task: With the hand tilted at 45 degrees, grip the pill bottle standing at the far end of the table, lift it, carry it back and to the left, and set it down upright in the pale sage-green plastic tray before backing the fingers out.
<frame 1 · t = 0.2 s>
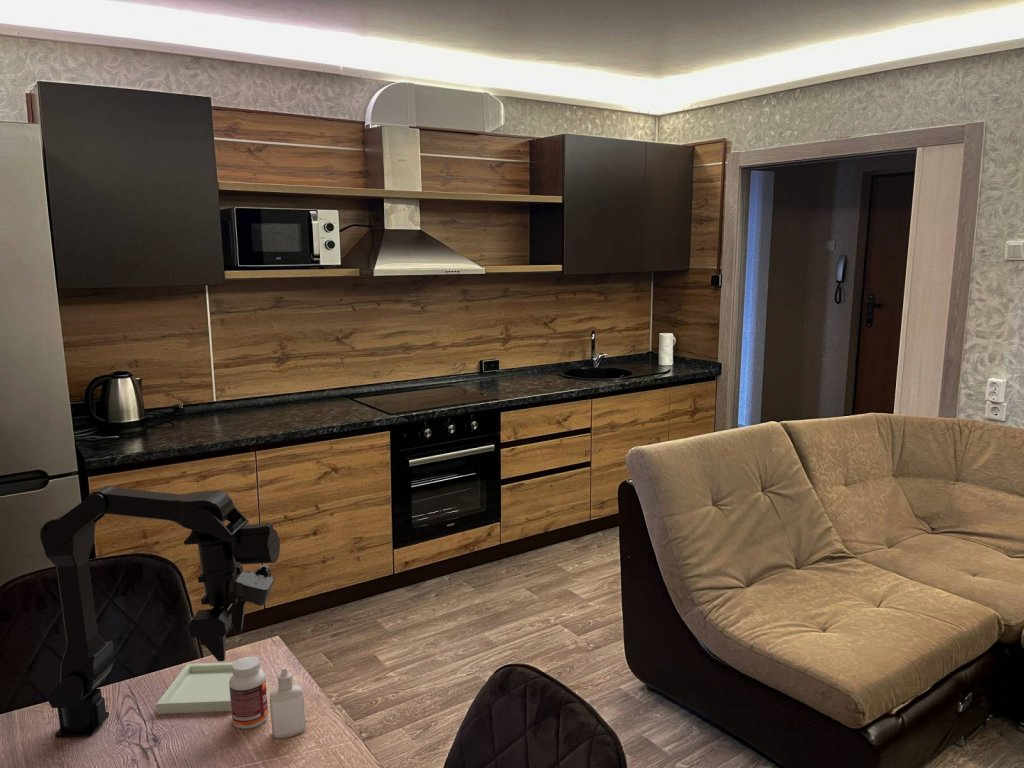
hand: (230, 646, 132), 14 cm above the table, tool pointing down, fingers open, 9 cm apart
eye dropper bottle: (289, 732, 131), on the table
pill bottle: (250, 720, 135), on the table
tray: (210, 691, 144), on the table
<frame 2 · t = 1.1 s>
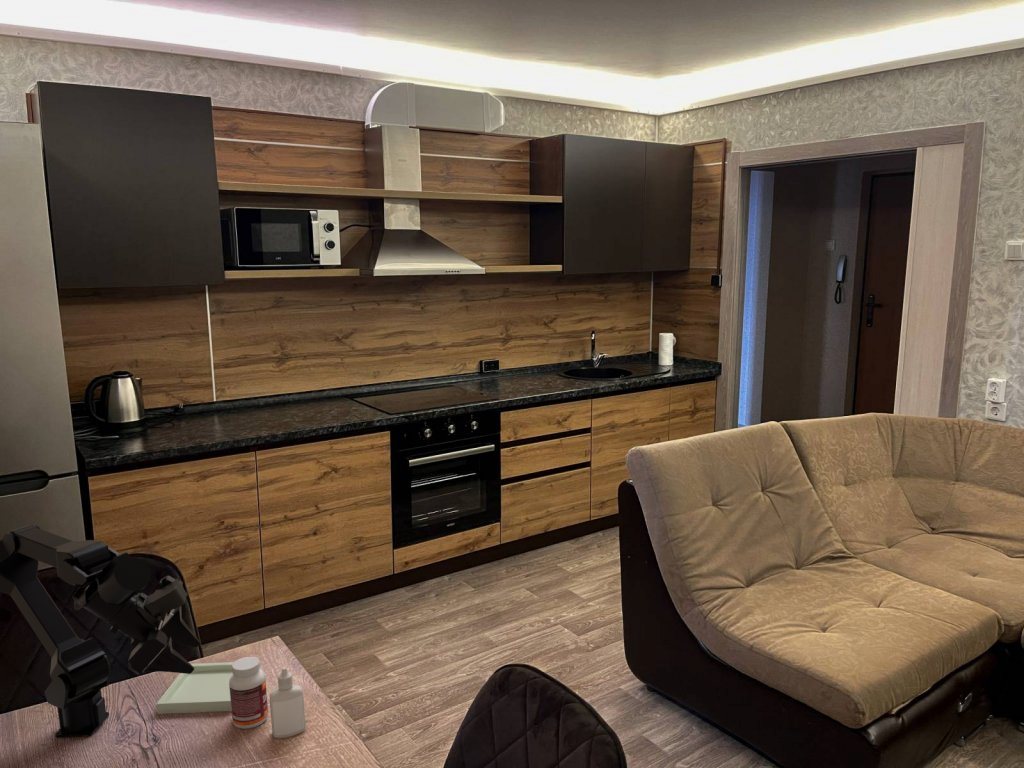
hand: (195, 657, 131), 14 cm above the table, tool tilted 45°, fingers open, 9 cm apart
nothing on the table moved.
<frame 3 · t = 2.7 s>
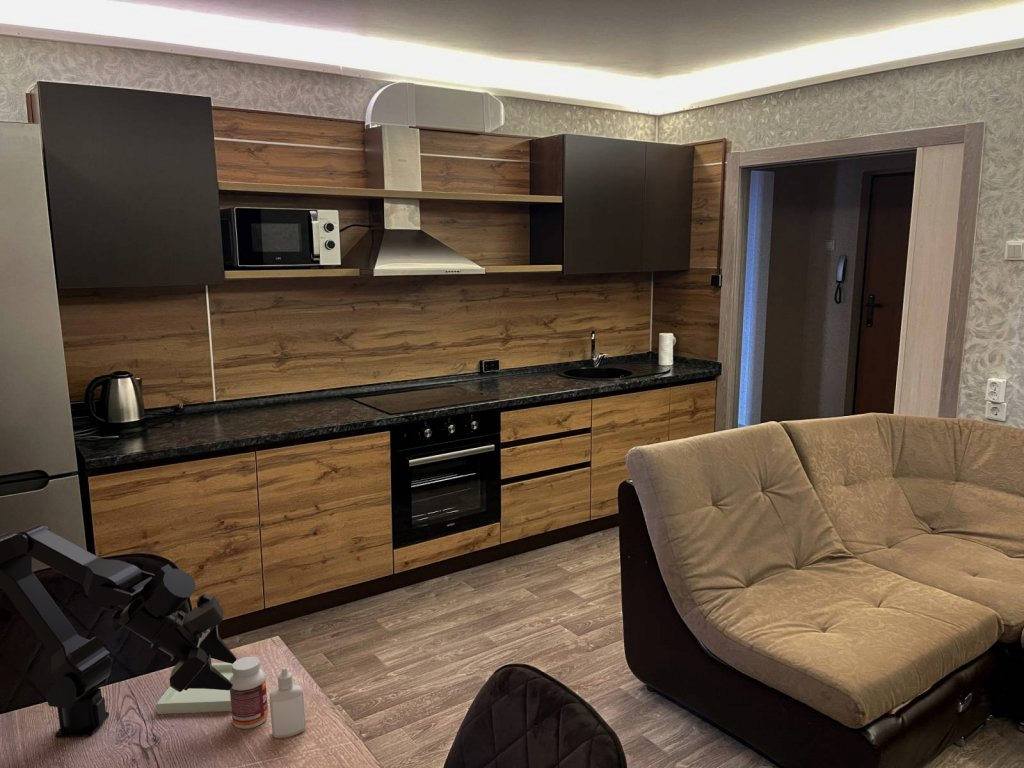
hand: (233, 674, 133), 9 cm above the table, tool tilted 45°, fingers open, 9 cm apart
nothing on the table moved.
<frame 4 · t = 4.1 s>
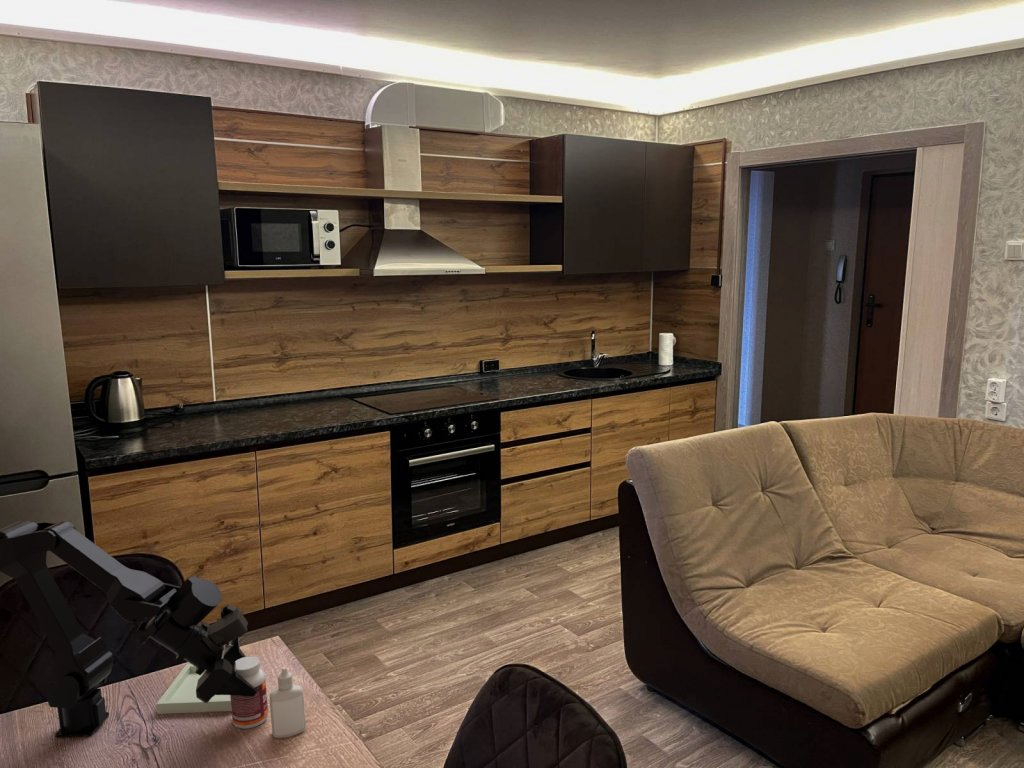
hand: (256, 684, 134), 7 cm above the table, tool tilted 45°, fingers closed on pill bottle, 6 cm apart
pill bottle: (250, 720, 135), on the table, touching gripper
everything else where it was.
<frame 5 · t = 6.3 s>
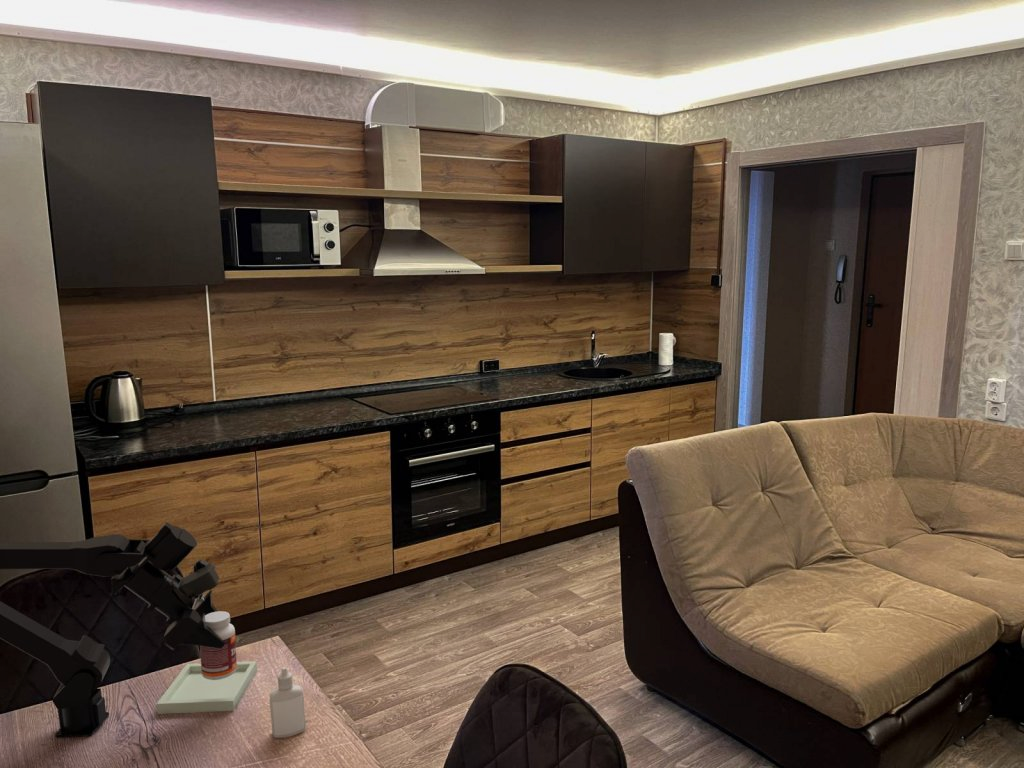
hand: (225, 637, 139), 13 cm above the table, tool tilted 45°, fingers closed on pill bottle, 6 cm apart
pill bottle: (219, 673, 139), point 6 cm above the table, touching gripper
everything else where it was.
when the fingers open (9 cm above the table, at t = 8.3 s): pill bottle drops 1 cm, resting on tray.
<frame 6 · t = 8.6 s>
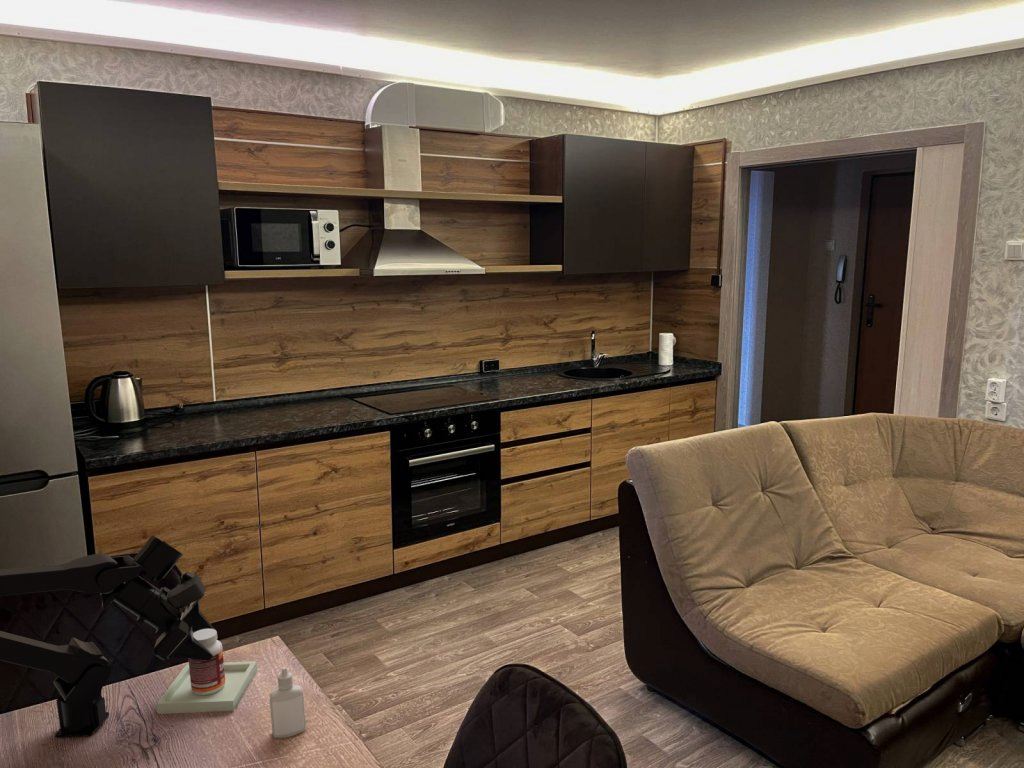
hand: (213, 646, 143), 9 cm above the table, tool tilted 45°, fingers open, 9 cm apart
pill bottle: (208, 688, 144), point 1 cm above the table, touching tray
everything else where it was.
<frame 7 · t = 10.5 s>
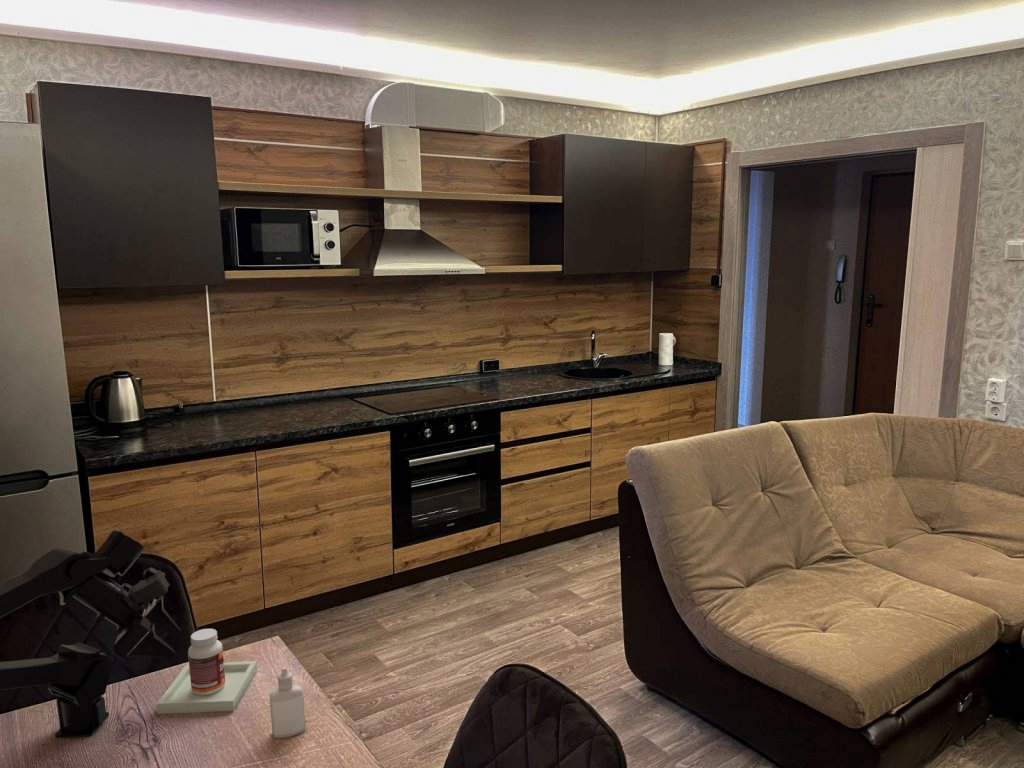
hand: (176, 643, 140), 11 cm above the table, tool tilted 45°, fingers open, 9 cm apart
nothing on the table moved.
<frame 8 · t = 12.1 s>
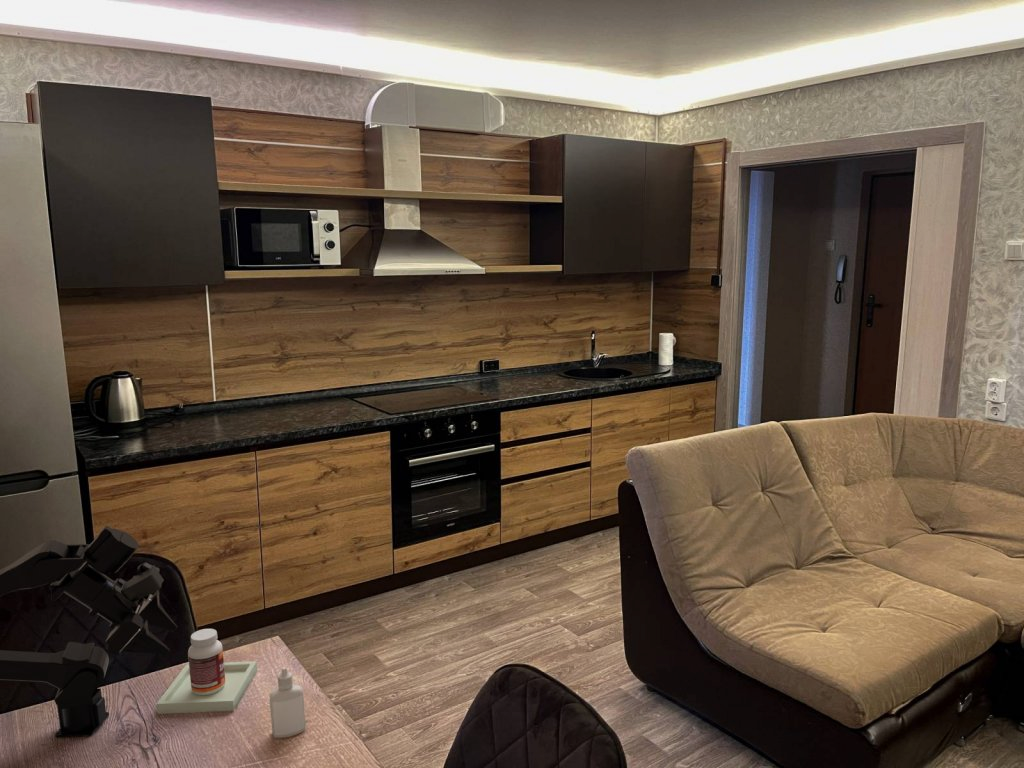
hand: (172, 640, 137), 14 cm above the table, tool tilted 45°, fingers open, 9 cm apart
nothing on the table moved.
at the end: pill bottle inside the target area on the tray (0.1 cm from its centre), point 0.6 cm above the tray's base; pill bottle tilted 0°; the gripper is holding nothing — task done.
